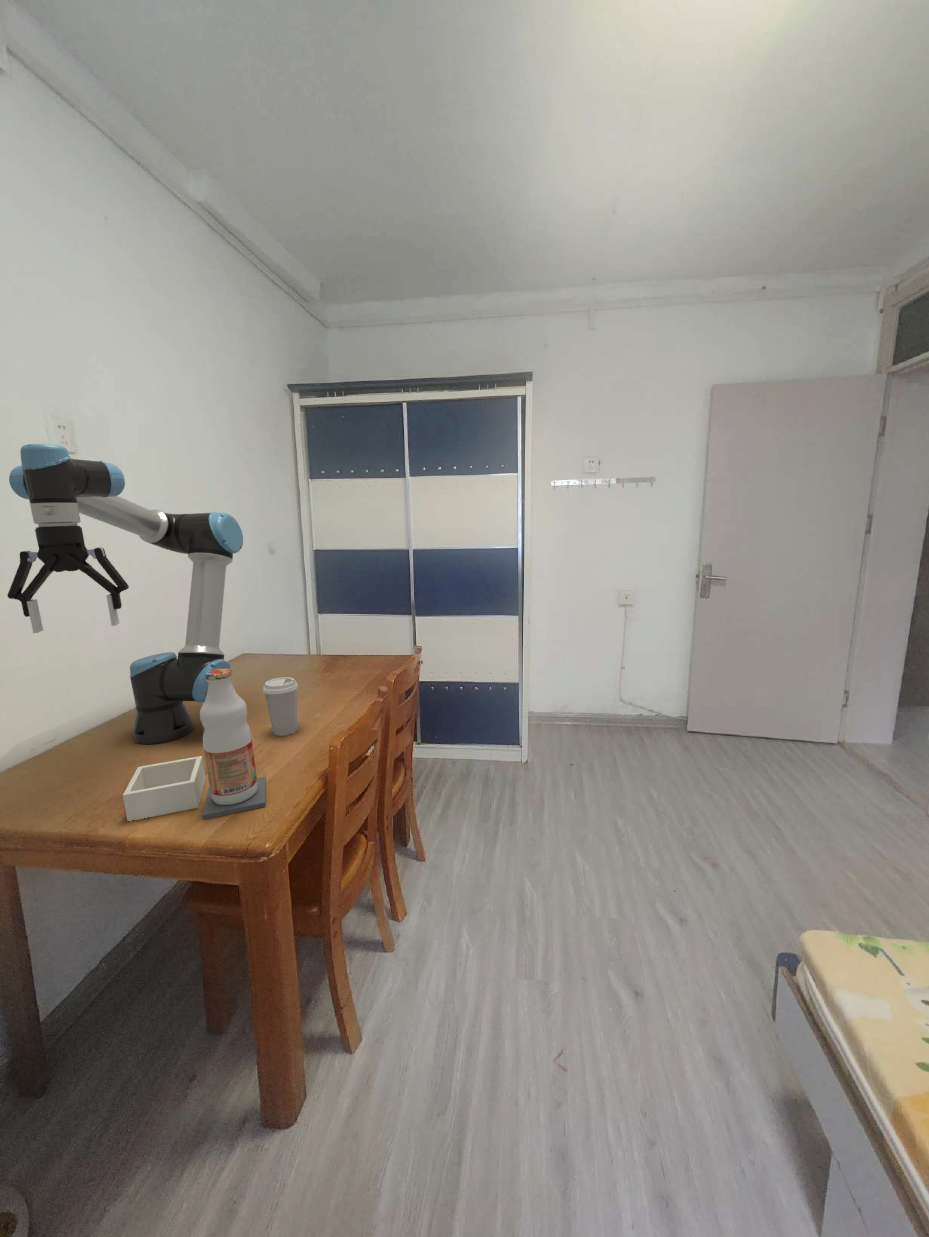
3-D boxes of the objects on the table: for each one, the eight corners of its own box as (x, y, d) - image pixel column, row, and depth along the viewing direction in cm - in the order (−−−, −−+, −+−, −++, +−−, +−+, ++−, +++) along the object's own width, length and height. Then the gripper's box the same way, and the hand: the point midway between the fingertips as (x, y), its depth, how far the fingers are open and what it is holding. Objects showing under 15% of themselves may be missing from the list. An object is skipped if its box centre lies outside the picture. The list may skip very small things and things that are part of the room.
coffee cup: (291, 739, 142) (286, 687, 139) (260, 737, 144) (254, 686, 141) (308, 725, 151) (303, 676, 148) (279, 724, 153) (274, 675, 150)
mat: (209, 791, 116) (208, 787, 116) (266, 780, 120) (265, 776, 120) (202, 819, 105) (202, 815, 105) (265, 806, 109) (265, 802, 109)
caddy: (142, 791, 117) (138, 766, 116) (205, 779, 121) (201, 755, 120) (127, 821, 105) (122, 795, 104) (198, 807, 109) (194, 781, 108)
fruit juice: (201, 801, 110) (182, 676, 104) (237, 780, 118) (221, 663, 113) (232, 810, 106) (214, 680, 100) (267, 788, 114) (252, 667, 109)
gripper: (-30, 528, 96) (-6, 638, 100) (125, 522, 104) (141, 625, 108) (-10, 527, 103) (12, 631, 107) (134, 522, 111) (149, 618, 115)
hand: (77, 628), depth 108 cm, fingers open, 13 cm apart
